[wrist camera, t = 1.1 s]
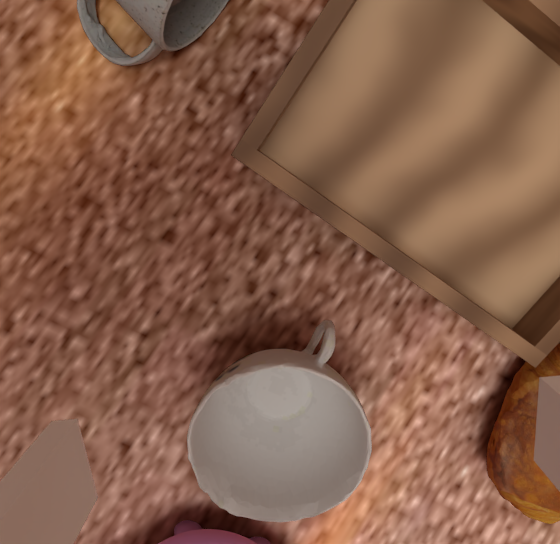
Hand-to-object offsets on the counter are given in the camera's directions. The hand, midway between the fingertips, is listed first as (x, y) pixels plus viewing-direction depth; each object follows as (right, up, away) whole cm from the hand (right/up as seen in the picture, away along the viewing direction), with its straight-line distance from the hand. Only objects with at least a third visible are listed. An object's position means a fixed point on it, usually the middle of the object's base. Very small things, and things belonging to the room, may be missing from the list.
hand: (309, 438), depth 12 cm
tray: (+12, +13, +19) cm, 26 cm away
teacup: (0, -4, +24) cm, 24 cm away
